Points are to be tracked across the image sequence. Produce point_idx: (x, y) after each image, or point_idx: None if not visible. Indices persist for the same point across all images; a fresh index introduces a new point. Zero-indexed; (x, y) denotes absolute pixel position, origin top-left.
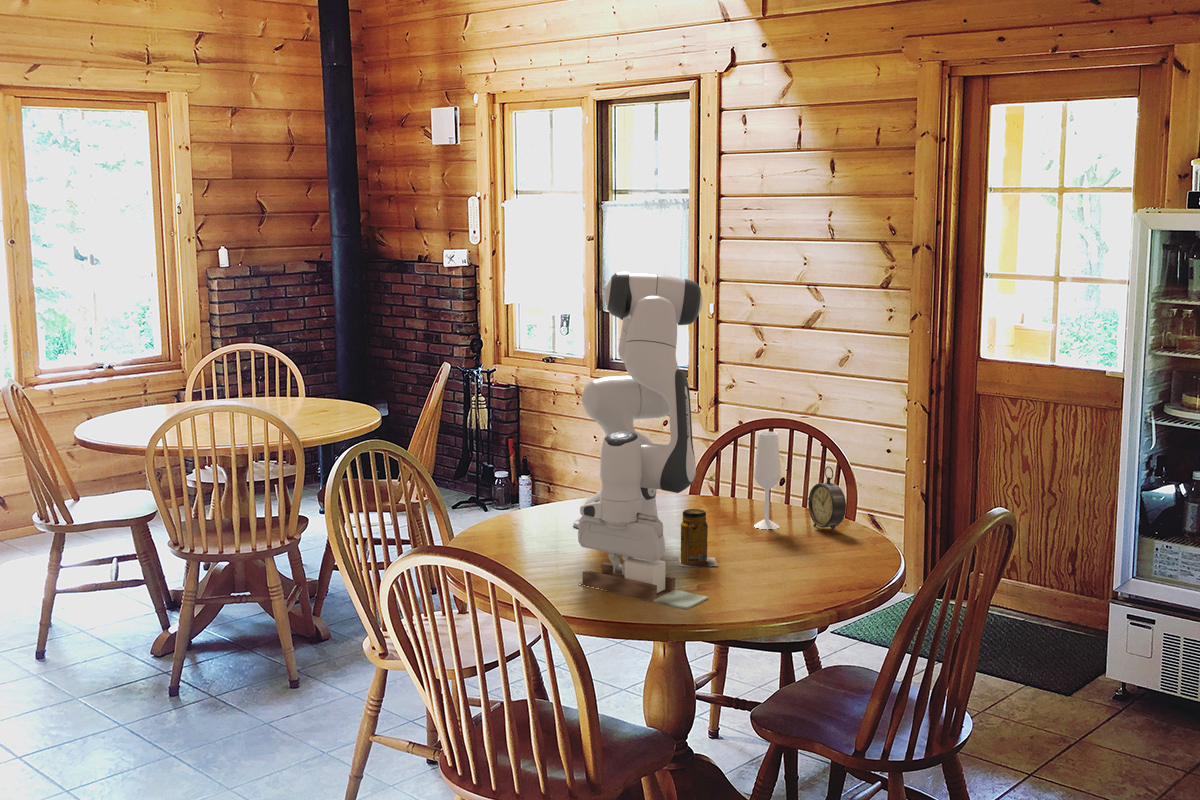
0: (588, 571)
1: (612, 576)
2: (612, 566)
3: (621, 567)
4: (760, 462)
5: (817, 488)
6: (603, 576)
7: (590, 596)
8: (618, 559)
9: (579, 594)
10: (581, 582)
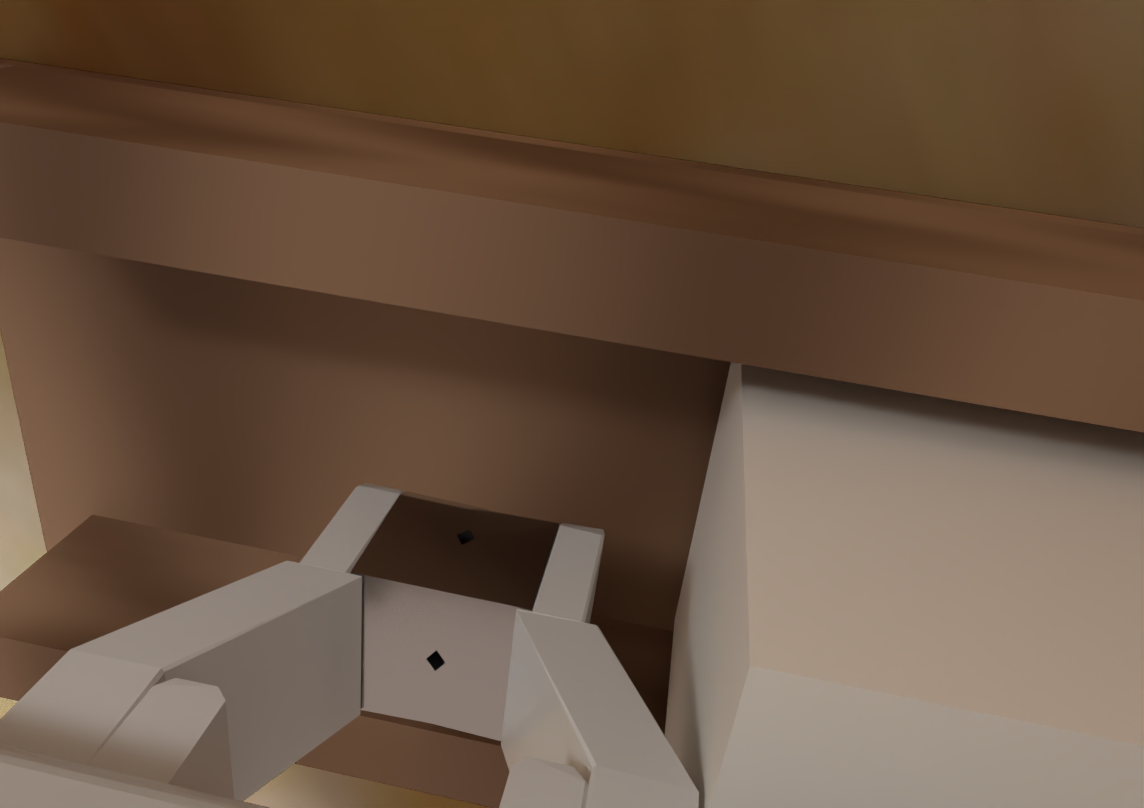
0: (34, 667)
1: (466, 760)
2: (99, 249)
3: (505, 739)
4: None
5: None
6: (342, 765)
7: (407, 796)
8: (268, 635)
9: (280, 776)
10: (47, 523)
